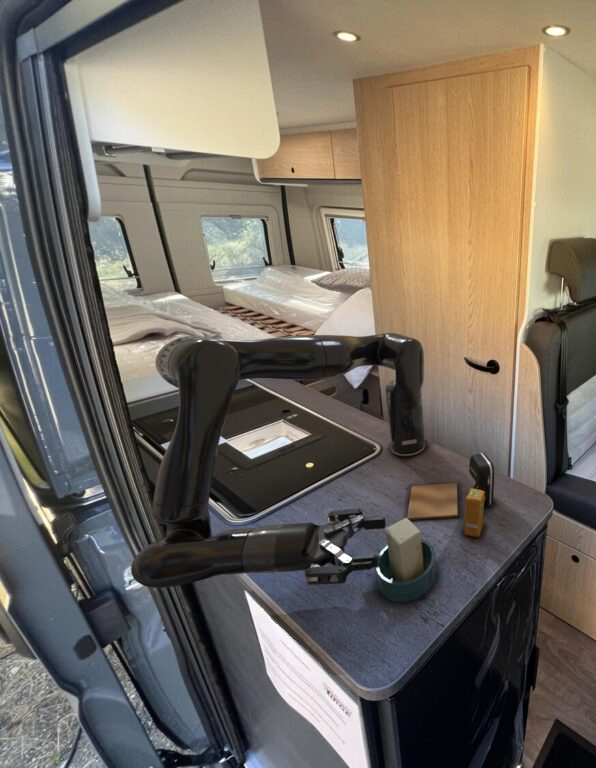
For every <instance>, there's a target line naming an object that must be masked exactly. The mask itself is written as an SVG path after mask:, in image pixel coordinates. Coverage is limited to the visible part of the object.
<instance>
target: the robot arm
mask: <svg viewBox="0 0 596 768" xmlns="http://www.w3.org/2000/svg"><path fill="white" fill-rule="evenodd" d="M368 366H370V367H371V366H372V367H373V366H376V367H377V366H378V367H384V368H389V369H390V370H394V371H395V378H394V379H392V380H389V382H387V383H386V385H385V395H386V396H385V397H386V406H387V407H386V408H387V418H388V428H389V437H390V439H389V440H390V450H391V453H392V454H393V455H395V456H398V457H402V458H403V457H404V458H409V457H414V456H417V455H419V454H421V453H422V452H423V451H424V450H425V448H426V441H425V423H424V406H423V386H424V381H425V352H424V347H423V345H422V343H421V342H420V341H419V339H417V338H415V337H412V336H408V335H405V334H401V333H397V332H385V333H377V334H371V335H363V336H355V335H345V334H344V335H343V334H342V335H341V334H307V335H304V334H303V335H291V336H290V335H289V336H279V337H270V338H262V339H261V338H260V339H228V338H215V337H206V336H201V335H200V336H199V335H188V336H187V335H186V336H182V337H177V338H176V339H173V340H170V341H169V342H168V343H166V344H165V345H164V346H162V347H161V348H160V349H159V351H157V354H156V356H155V368H156V371H157V373H158V374H159V375H160V377H161V378H162V379H163V380H164V381H166V382H167V384H170V385H171V386H173V387H175V388H177V389H178V395H179V396H178V400H179V402H178V405H179V407H178V415H177V421H176V425H175V429H174V432H173V434H172V437H171V439H170V441H169V444H168V445H167V448H166V450H165V452H164V454H163V457H162V459H161V461H160V465H159V468H158V471H157V475H156V480H155V481H156V482H155V487H154V494H153V502H152V509H151V515H152V517H153V519H154V520H155V521H156V522H157V523H160V524H163V525H166V533H165V535H164V536H162V537H161V538H159V539H157V540H155V541H153V542H152V543H150V544H148V545H146V546H145V547H144V548H143V549H141V550H140V551H139V552H138V553H137V554H136V556H135V557H134V558H133V560H132V563H131V566H130V572H131V576H132V578H133V579H134V581H135V582H136V583H138V584H139V585H141V586H143V587H146V588H152V589H167V588H174V587H179V586H183V585H187V584H191V583H196V582H200V581H204V580H207V579H210V578H213V577H218V576H232V575H241V574H242V575H244V574H275V573H276V574H277V573H285V572H287V573H288V572H299V571H304V577H305V580H306V583H307V585H308V586H312V585H314V586H315V585H340V584H341V585H342V584H345V583H346V581H347V580H348V579H347V578H348V576H349V575H350V574H352V573H353V572H356V571H357V572H358V571H369V570H372V569H373V568H376V566H377V563H378V559H377V557H378V555H377V554H374V553H373V554H361V555H353V556H352V557H351V556H349V555H348V554H347V553H345V547H346V546H347V544H348V541H349V540H350V539H352V538H353V537H354V536H355V534H356V533H359V532H360V531H362V530H364V531H366V530H367V531H368V530H382V529H386V526H387V522H386V517H385V516H381V515H377V516H376V515H374V516H373V515H372V516H364V513H363V508H361V507H358V508H348V509H340V510H331V511H329V512H328V513H327V516H328V517H327V518H328V520H327V523H325V524H323V525H317V524H315V523H314V522H299V523H297V522H295V523H284V524H271V525H265V526H264V525H263V526H259V527H248V528H234V529H233V528H232V529H227V530H224V531H221V532H218V533H216V534H214V535H213V531H212V523H211V516H210V512H209V511H210V510H209V502H210V496H211V490H212V483H213V477H214V469H215V464H216V463H215V462H216V458H217V453H218V448H219V443H220V440H221V436H222V432H223V429H224V425H225V422H226V419H227V416H228V413H229V410H230V406H231V404H232V400H233V398H234V395H235V393H236V390H237V387H238V385H239V381H244V380H254V379H269V380H285V381H314V380H324V379H332V378H337V377H342V376H344V375H346V374H348V373H349V372H351V371H353V370H354V369H356V368H359V367H368ZM345 529H346V530H345ZM328 564H329V565H330V566H326V565H328Z"/></svg>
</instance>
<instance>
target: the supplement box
mask: <svg viewBox="0 0 596 768" xmlns="http://www.w3.org/2000/svg"><path fill="white" fill-rule="evenodd" d="M484 495H485V492H484V491H482V490H477V489H473V488H471V487H470V489H469V493H468V494H467V496H466V498H465V509H464V510H465V512H464V535H466V536H470V537H475V538H479V537H480V535H481V533H482V530H483V525H484V509H485V508H484V507H485V506H484Z"/></svg>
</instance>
